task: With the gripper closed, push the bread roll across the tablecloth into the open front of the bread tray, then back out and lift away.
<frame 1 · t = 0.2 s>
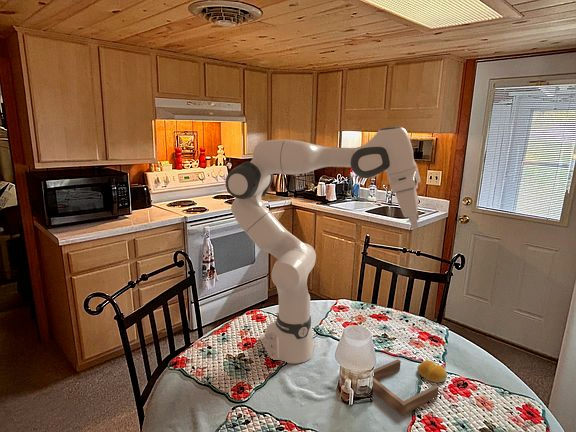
hand: (416, 223, 118), 52 cm above the table, tool tilted 20°, fingers open, 8 cm apart
bread roll: (431, 375, 130), on the table
bread tray: (400, 389, 123), on the table
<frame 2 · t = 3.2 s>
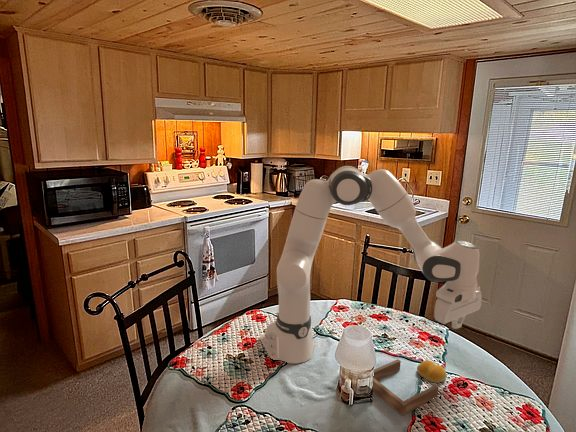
hand: (456, 327, 132), 14 cm above the table, tool pointing down, fingers closed
nothing on the table moved.
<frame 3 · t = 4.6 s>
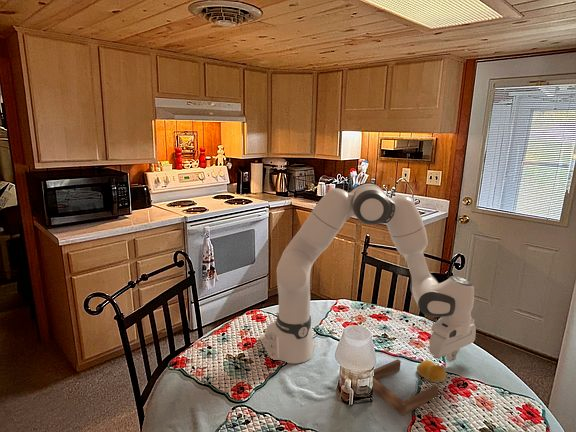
hand: (450, 359, 135), 2 cm above the table, tool pointing down, fingers closed
nothing on the table moved.
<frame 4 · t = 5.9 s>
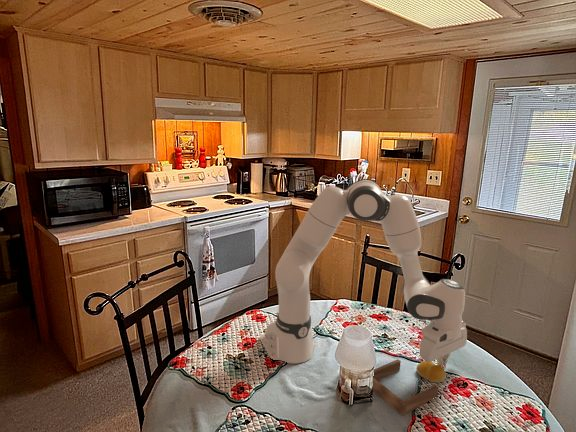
hand: (441, 364, 133), 2 cm above the table, tool pointing down, fingers closed
bread roll: (430, 375, 130), on the table, touching gripper
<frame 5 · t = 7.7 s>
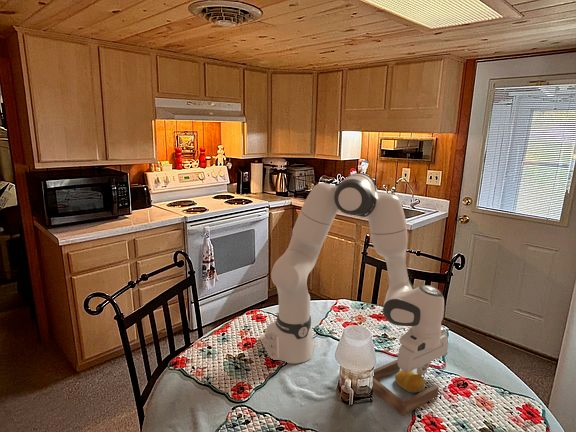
hand: (421, 373, 127), 2 cm above the table, tool pointing down, fingers closed
bread roll: (409, 385, 125), on the table, touching gripper
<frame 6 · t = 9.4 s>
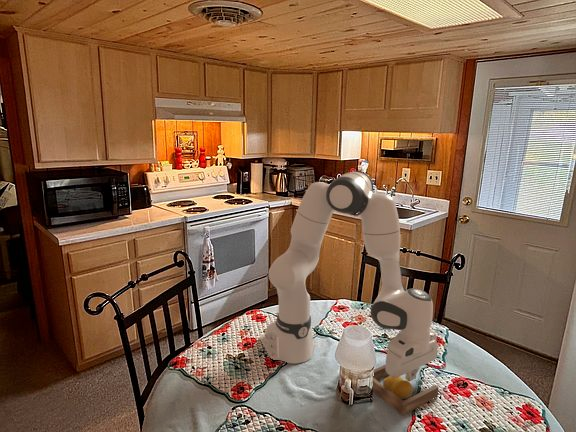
hand: (410, 379, 125), 2 cm above the table, tool pointing down, fingers closed
bread roll: (397, 391, 123), on the table
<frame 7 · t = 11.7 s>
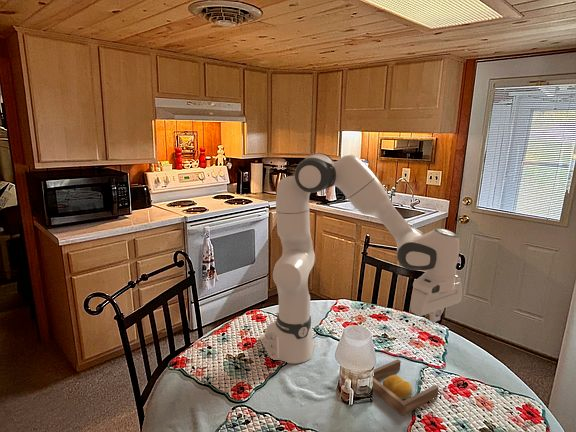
hand: (434, 320, 125), 20 cm above the table, tool pointing down, fingers closed
nothing on the table moved.
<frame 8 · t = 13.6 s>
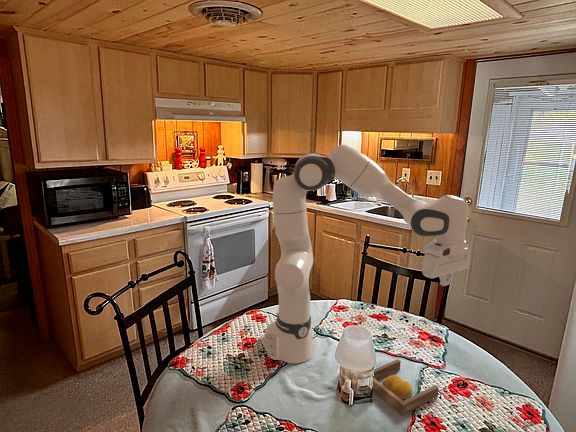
hand: (444, 284, 130), 29 cm above the table, tool pointing down, fingers closed
nothing on the table moved.
at the end: bread roll inside the target area on the bread tray (1.0 cm from its centre), point -0.5 cm above the bread tray's base; bread roll moved 16.0 cm from its start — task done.
